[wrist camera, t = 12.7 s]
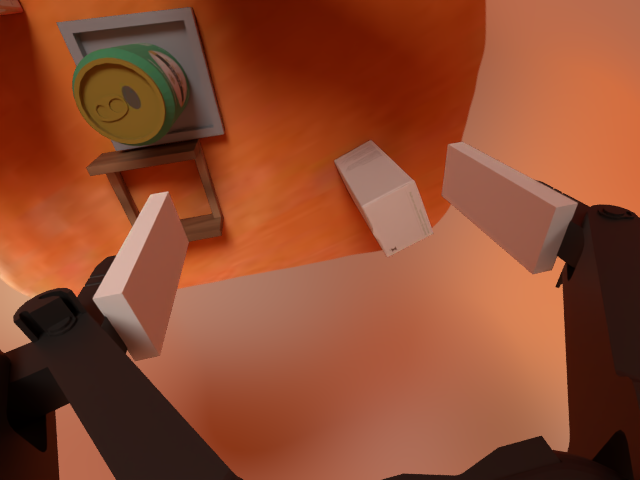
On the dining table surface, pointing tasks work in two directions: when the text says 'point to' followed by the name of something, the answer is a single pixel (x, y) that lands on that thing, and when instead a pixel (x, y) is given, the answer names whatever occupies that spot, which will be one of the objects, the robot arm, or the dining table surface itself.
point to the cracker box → (10, 7)
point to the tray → (171, 35)
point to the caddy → (157, 156)
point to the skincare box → (384, 197)
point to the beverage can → (131, 92)
